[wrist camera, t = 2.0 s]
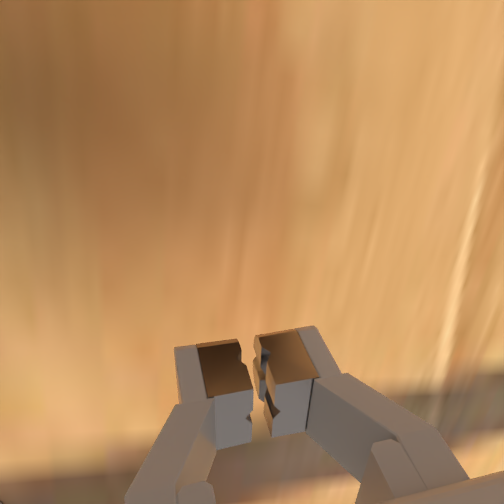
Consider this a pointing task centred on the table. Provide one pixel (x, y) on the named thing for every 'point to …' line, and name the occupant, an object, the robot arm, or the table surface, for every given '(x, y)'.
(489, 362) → the table surface
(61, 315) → the table surface
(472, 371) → the table surface
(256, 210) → the table surface
